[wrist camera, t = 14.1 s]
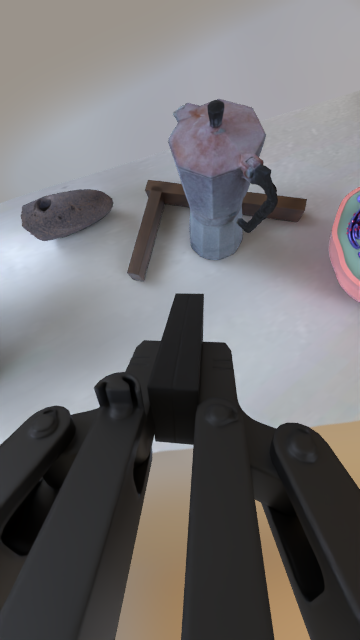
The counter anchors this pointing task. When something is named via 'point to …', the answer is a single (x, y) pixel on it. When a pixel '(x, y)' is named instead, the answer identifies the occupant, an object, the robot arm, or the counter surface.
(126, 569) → the robot arm
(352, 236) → the cell model
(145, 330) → the counter surface
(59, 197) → the perforated stone tool
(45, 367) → the counter surface
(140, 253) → the corner guide
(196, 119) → the moka pot
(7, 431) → the counter surface
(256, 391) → the counter surface
